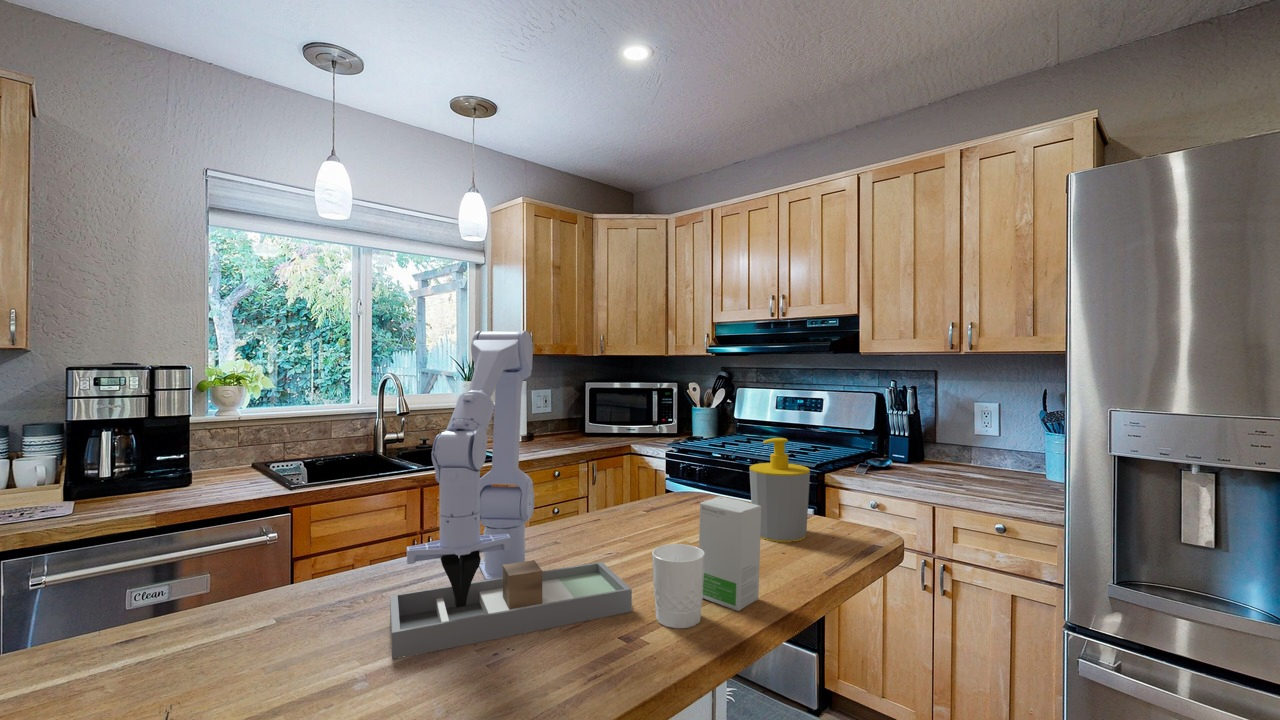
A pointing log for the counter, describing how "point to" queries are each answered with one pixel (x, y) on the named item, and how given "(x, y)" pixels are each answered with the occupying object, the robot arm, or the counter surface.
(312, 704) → the counter surface
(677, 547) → the white cup
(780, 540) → the soap bottle
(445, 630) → the box
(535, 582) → the walnut block
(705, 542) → the skincare box
